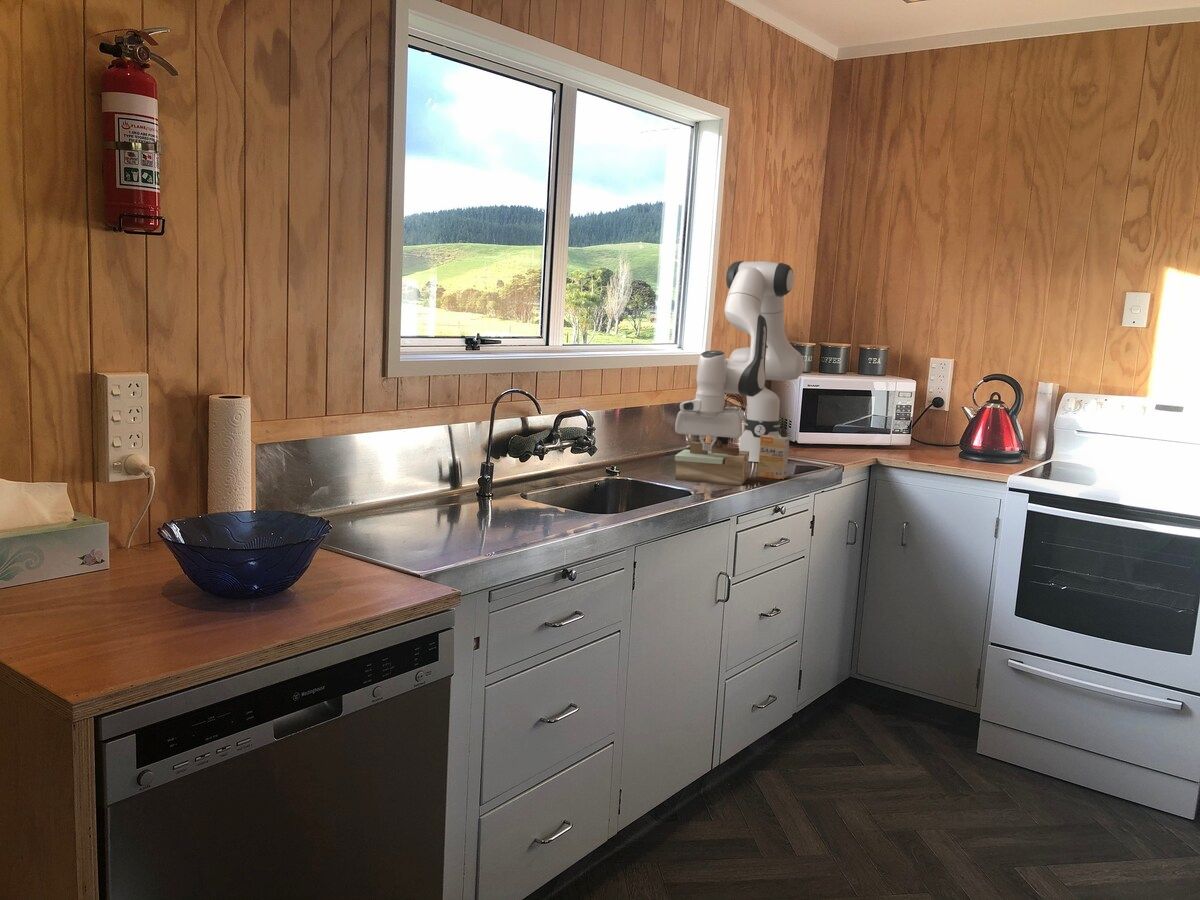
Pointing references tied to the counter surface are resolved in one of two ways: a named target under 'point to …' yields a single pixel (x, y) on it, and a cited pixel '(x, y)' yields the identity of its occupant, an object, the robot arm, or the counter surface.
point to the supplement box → (773, 457)
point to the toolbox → (716, 470)
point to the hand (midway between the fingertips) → (707, 450)
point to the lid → (700, 455)
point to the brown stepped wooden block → (724, 449)
